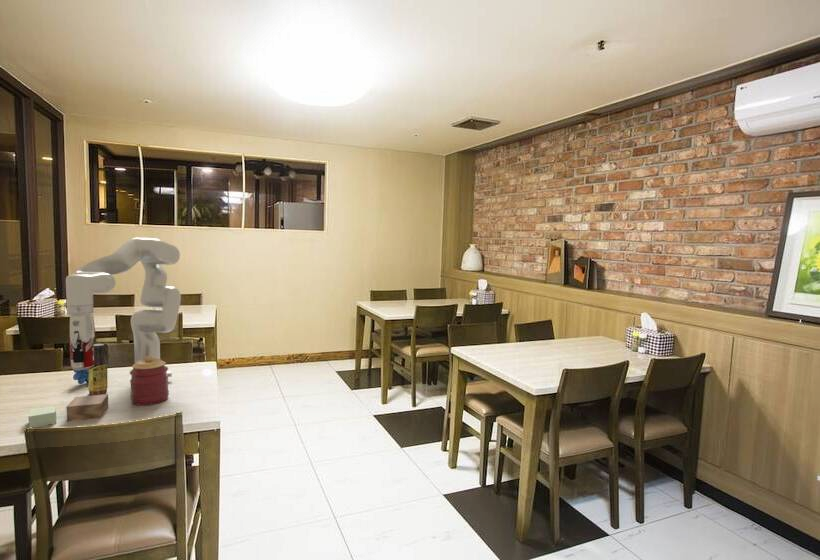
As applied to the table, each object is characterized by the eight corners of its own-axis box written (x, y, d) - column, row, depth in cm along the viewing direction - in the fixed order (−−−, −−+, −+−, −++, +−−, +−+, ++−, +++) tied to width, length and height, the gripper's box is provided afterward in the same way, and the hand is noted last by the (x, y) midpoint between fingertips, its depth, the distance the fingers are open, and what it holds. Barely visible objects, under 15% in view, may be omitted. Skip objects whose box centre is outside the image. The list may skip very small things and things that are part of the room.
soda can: (81, 371, 157) (80, 337, 156) (65, 369, 159) (64, 336, 158) (99, 366, 164) (97, 333, 163) (83, 364, 165) (82, 332, 164)
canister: (128, 398, 179) (127, 354, 177) (165, 391, 186) (164, 349, 185) (132, 408, 168) (131, 361, 167) (171, 401, 176) (170, 356, 175)
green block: (56, 416, 159) (55, 405, 159) (56, 423, 154) (55, 412, 153) (30, 421, 155) (29, 409, 155) (29, 428, 149) (28, 416, 149)
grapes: (96, 377, 202) (95, 351, 201) (105, 379, 200) (104, 353, 198) (67, 385, 192) (66, 357, 191) (77, 387, 189) (76, 359, 188)
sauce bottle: (93, 397, 178) (91, 347, 177) (85, 394, 182) (83, 345, 180) (111, 392, 184) (109, 344, 182) (103, 389, 187) (102, 342, 185)
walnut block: (108, 407, 169) (107, 394, 168) (101, 417, 160) (101, 403, 159) (76, 410, 165) (75, 396, 165) (67, 420, 156) (66, 406, 155)
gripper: (85, 313, 153) (87, 365, 154) (100, 305, 169) (102, 352, 171) (58, 314, 150) (60, 367, 152) (76, 306, 166) (78, 354, 168)
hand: (82, 359), depth 161 cm, fingers closed on soda can, 6 cm apart
